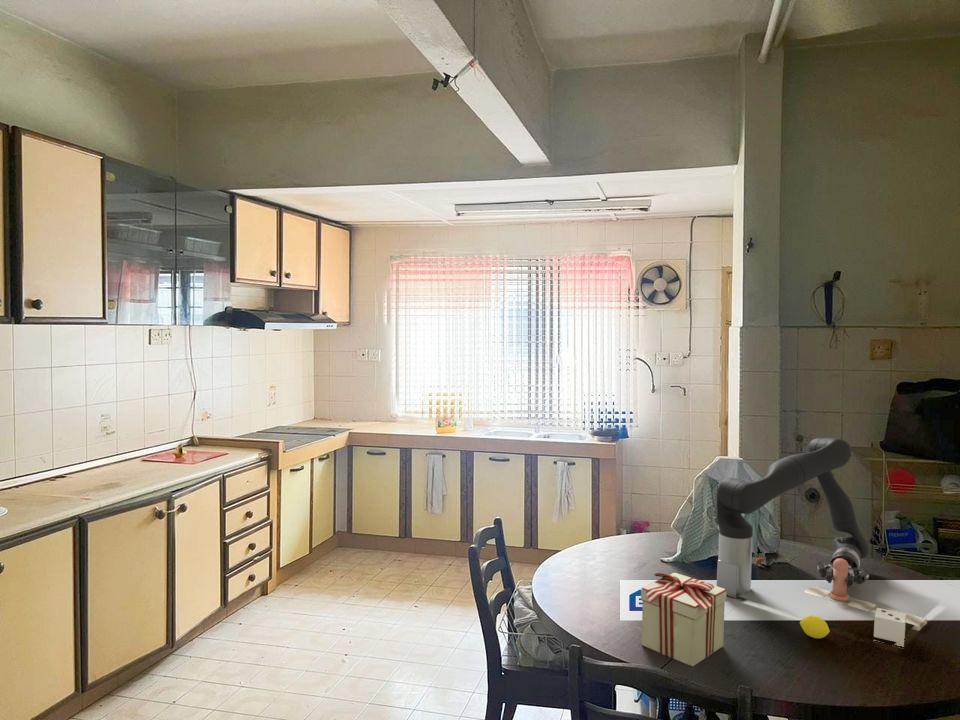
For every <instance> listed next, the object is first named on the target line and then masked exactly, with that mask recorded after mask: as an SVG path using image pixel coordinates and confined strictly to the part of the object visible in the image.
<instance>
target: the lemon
mask: <svg viewBox="0 0 960 720" xmlns="http://www.w3.org/2000/svg"><path fill="white" fill-rule="evenodd" d="M799 624H800V625H799V626H800V627H801V629H802V631H803V632H804V633H805V634H806V635H807V636H808V637H811V638H812V639H816V640H817V639H823V638H825V637H826V636H827V635H829V633H830V632H831V631H830V628H829V625H828V624H827V622H826V621H825V620H824V619H823V618H821V617H820V616H817V615H808V616H805V617H804V618H803V619H802V620H800V621H799Z"/></svg>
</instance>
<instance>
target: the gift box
mask: <svg viewBox="0 0 960 720" xmlns="http://www.w3.org/2000/svg"><path fill="white" fill-rule="evenodd" d="M654 576H655V577H661V578H659V579H657V580H656V581H653V582H652V583H650V584H648V585H646V586H644V587H642V588H641V589H640V591H641V592H640V600H641V601H642V609H641V610H642V615H641V621H642V622H641V646H642V647H645V648H647V649H650V650H652V651H654V652H656V653H659V654H660V655H663V656H666V657H668V658H671V659H673V660H675V661H677V662H680V663H682V664H685V665H687V666H689V667H695V666H696V665H698V664H699V663H701V662H702V661H704V660H705V659H707V658H709V657H710V656H711V655H713V654H714V653H715V652H717V651H719V650H721V648H723V647H724V637H725V635H724V633H725V632H724V627H725V602H727V595H726V589H724V588H721V587H718V586H717V585H714V584H711V583H708V582H705V581H703V580H701V579H696V578H693V577H690V576H687V575H684V574H681V573H677V572H671V573H670V574H669V573H668V574H667V573H660V572H656V573H654Z"/></svg>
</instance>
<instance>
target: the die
mask: <svg viewBox="0 0 960 720" xmlns="http://www.w3.org/2000/svg"><path fill="white" fill-rule="evenodd" d="M906 613H907V612H904V613H902V612H901V611H900V612H896V611H891V610H886V609H881V608H877V609H876V613H874V622H873V638H877V639H882V640H885V641H890V642H894V644H893V645H897V646H902V647H904V648H905V640H904V639H906V624H907V623H906ZM872 641H873V642H874V641H878V642H882V643H884V642H883V641H879V640H876V639H873V640H872ZM878 642H877V643H878ZM882 643H881V644H882Z"/></svg>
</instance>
